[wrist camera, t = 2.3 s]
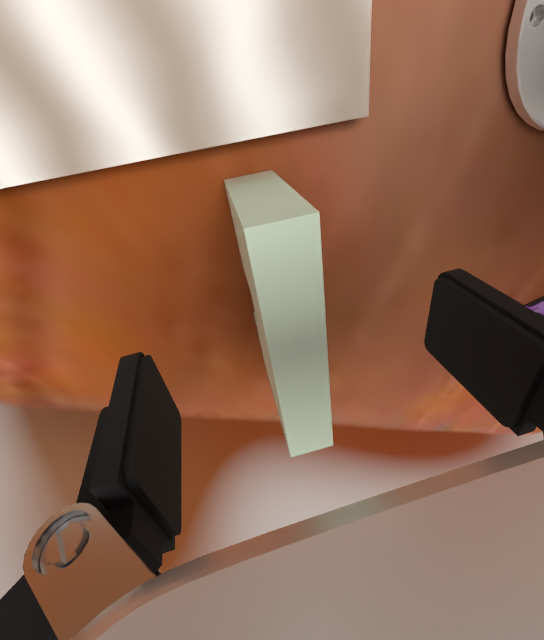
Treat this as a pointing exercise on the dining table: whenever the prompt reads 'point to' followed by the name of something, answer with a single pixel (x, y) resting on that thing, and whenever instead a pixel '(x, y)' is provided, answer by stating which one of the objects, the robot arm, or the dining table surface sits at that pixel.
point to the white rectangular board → (170, 77)
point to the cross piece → (286, 301)
